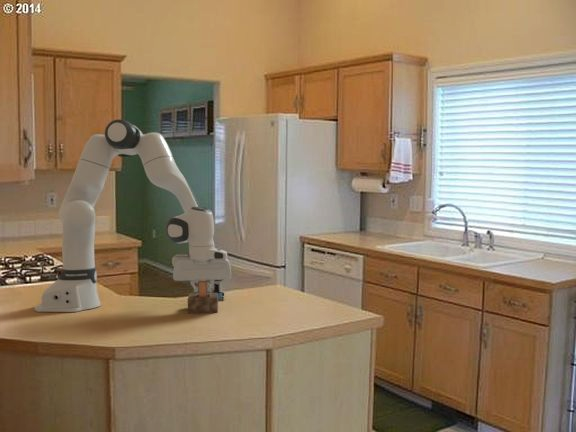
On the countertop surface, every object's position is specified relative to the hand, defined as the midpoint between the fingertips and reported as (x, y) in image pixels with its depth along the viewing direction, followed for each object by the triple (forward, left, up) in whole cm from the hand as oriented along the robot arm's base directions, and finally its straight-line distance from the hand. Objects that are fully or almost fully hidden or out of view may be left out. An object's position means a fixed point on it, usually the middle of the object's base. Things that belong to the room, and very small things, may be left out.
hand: (202, 292), depth 219 cm
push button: (+5, +17, -6) cm, 19 cm away
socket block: (0, 0, -6) cm, 6 cm away
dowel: (0, 0, -5) cm, 5 cm away
